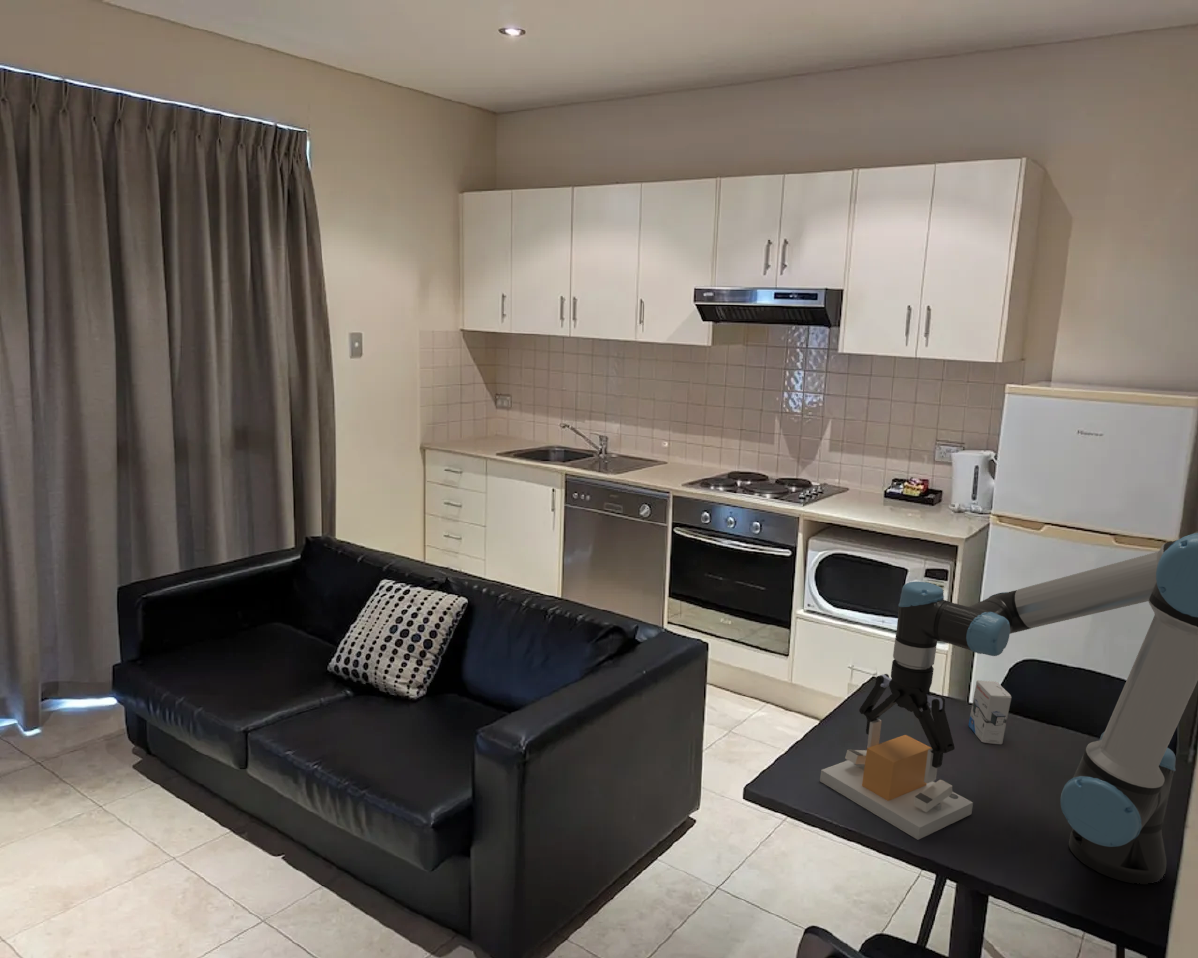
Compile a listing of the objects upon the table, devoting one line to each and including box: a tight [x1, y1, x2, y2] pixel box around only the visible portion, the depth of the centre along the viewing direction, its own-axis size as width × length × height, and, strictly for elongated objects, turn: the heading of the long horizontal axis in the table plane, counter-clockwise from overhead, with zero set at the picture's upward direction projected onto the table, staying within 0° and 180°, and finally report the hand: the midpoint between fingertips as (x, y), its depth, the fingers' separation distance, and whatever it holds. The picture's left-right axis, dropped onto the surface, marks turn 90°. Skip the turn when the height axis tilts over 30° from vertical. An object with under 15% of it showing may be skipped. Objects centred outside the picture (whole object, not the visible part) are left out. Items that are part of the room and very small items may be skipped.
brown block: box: [862, 734, 932, 801], centre depth 175 cm, size 6×12×8 cm, turn 125°
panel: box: [819, 759, 974, 841], centre depth 176 cm, size 23×17×4 cm
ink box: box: [968, 679, 1012, 745], centre depth 205 cm, size 9×5×12 cm, turn 179°
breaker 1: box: [844, 748, 867, 764], centre depth 182 cm, size 3×8×2 cm, turn 126°
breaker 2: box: [914, 778, 953, 812], centre depth 169 cm, size 3×8×2 cm, turn 126°
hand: (900, 765), depth 175 cm, fingers open, 13 cm apart
